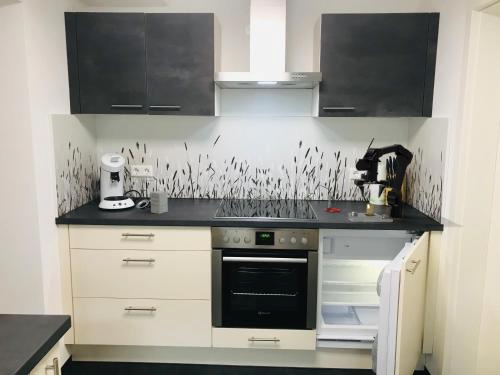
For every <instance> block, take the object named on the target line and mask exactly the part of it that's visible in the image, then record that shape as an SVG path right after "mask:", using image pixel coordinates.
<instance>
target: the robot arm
mask: <svg viewBox="0 0 500 375" xmlns="http://www.w3.org/2000/svg"><path fill="white" fill-rule="evenodd" d="M392 153H394V155H395V156H396V163H397V169H396V173H395V177H394V180H393V184H392V188H391V190H387V192H386V196H385V197H386V203H387V206H388V207H389V208H388V214H387V215H389V217H390V218H400V219H401V218H404V216H403V208H405V207H406V202H405V201H404V200H403V196H404V195H403V193H402V188H403V184H404V181H405V176H406V172H407V168H408V166H409V165H410V164H412V160H413V158H414V154H413V153H412V151H410V150H409V149H408V148H406V147H404V146H403V145H402V144H401V143H400V144H399V143H394V144H390V145H386V146H383V147H369V148H367V150H366V152H365V154H364V155H363V156H362V158H358V160H357V161H356V163H355V169H356V171H357V172H365V173H366V174H365V173H361V174H360V179H354V182H353V185H355V186H356V187H358V189H359V191H360V194H361V197H362V198H363V199H364V197H365V185H378V194H377V195H378V199H380V198H381V196H382V194H383V193H384V191H385V189H386V188H388V187H390V185H391V183H390V180H387V179H380V180H378V176H379V163H382V160H381V158H382V157H383V156H384V155H388V154H392Z"/></svg>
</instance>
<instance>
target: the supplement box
mask: <svg viewBox="0 0 500 375" xmlns="http://www.w3.org/2000/svg"><path fill="white" fill-rule="evenodd" d="M168 201H169V200H168V191H165V190H155V191H150V213H152V214H153V213H154V214H159V215H160V214H163V213H168V211H169V209H168V208H169V206H168V203H169V202H168Z"/></svg>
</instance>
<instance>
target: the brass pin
mask: <svg viewBox="0 0 500 375" xmlns="http://www.w3.org/2000/svg"><path fill="white" fill-rule="evenodd" d="M365 213H366V216H374V213H375V204H373V203H366V212H365Z"/></svg>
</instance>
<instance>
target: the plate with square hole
mask: <svg viewBox="0 0 500 375" xmlns="http://www.w3.org/2000/svg"><path fill="white" fill-rule="evenodd" d="M366 213H367V212H358V211H351V212H347V219H348V220H349V221H351V222H353V223H394V222H393V221H394V219H393V218H392V217H391V216H389V215H388V214H386V213H383V214H382V215H380V214H378V213H376V212H374V216H366Z"/></svg>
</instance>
